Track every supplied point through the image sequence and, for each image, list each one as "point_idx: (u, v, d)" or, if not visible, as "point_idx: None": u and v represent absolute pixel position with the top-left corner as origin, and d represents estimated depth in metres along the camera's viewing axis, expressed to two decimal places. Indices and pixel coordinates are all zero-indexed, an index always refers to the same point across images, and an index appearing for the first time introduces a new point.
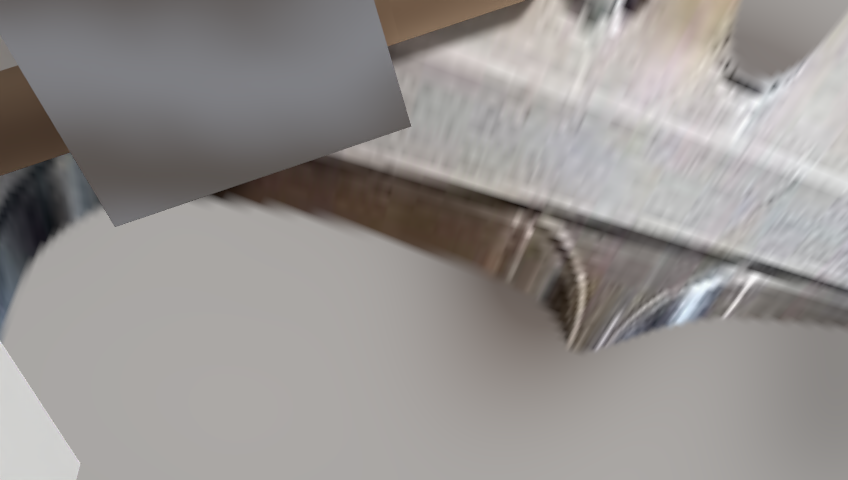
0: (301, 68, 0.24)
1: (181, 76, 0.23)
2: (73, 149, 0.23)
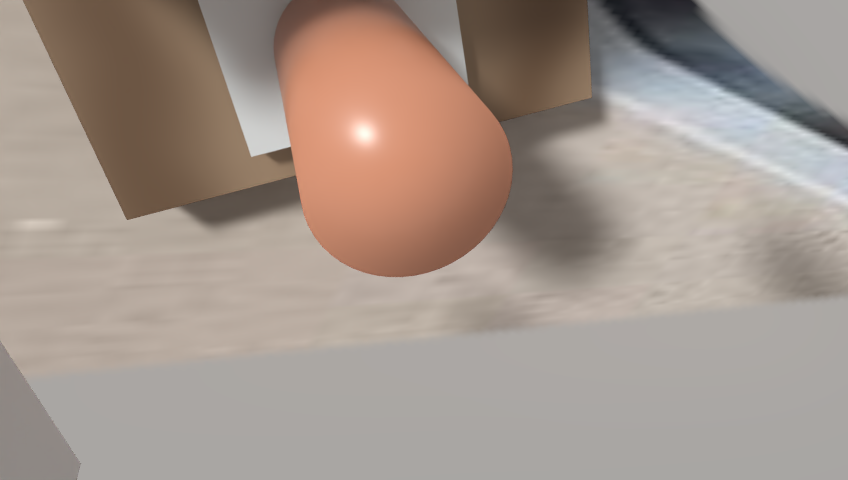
0: None
1: None
2: None
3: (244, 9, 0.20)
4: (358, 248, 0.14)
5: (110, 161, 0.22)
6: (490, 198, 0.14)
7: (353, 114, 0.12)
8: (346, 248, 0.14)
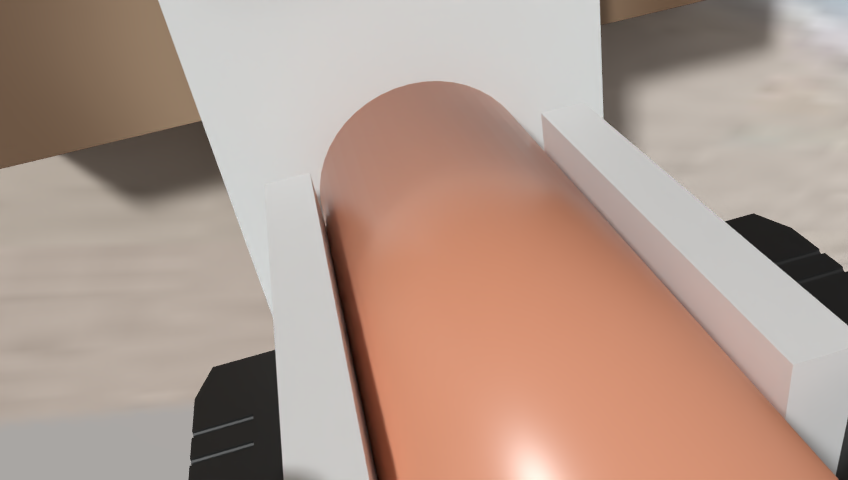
0: None
1: None
2: None
3: (276, 131, 0.12)
4: None
5: None
6: None
7: None
8: None
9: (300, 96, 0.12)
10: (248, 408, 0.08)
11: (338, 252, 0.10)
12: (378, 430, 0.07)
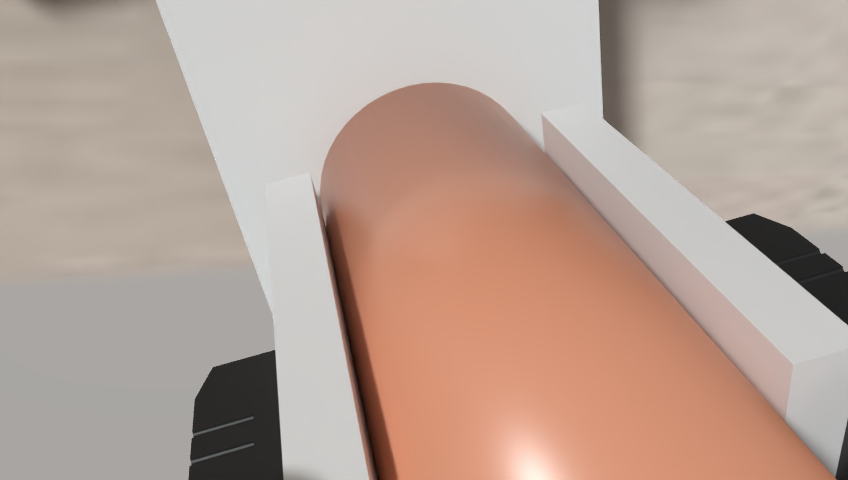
0: None
1: None
2: None
3: (275, 134, 0.12)
4: None
5: None
6: None
7: None
8: None
9: (299, 98, 0.12)
10: (248, 408, 0.08)
11: (338, 254, 0.10)
12: (378, 433, 0.07)
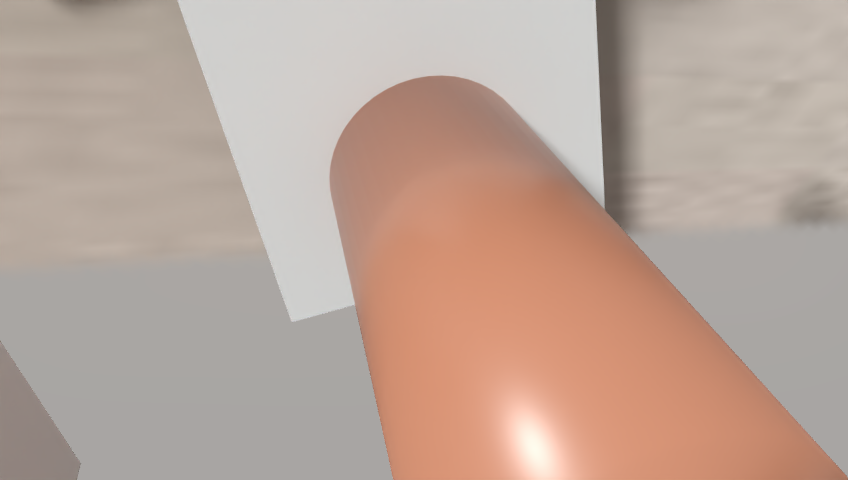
0: None
1: None
2: None
3: (287, 124, 0.13)
4: None
5: None
6: None
7: None
8: None
9: (311, 90, 0.13)
10: None
11: (347, 236, 0.11)
12: (385, 394, 0.08)
